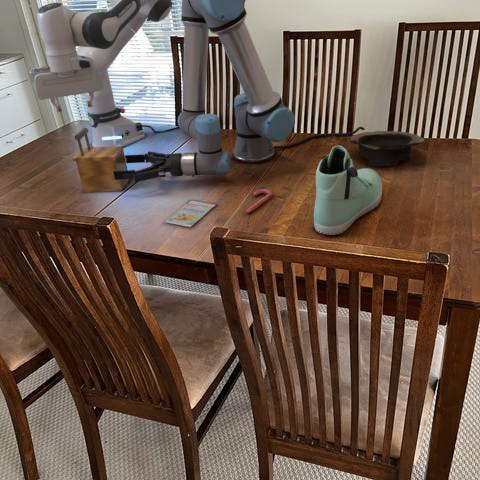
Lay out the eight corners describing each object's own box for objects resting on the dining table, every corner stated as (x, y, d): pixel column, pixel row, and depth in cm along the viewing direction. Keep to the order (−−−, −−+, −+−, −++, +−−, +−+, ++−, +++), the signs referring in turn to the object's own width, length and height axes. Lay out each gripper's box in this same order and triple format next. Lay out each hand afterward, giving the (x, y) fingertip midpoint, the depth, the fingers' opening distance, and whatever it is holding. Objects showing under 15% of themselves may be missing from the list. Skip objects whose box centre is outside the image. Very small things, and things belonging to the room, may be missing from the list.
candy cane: (232, 210, 143) (232, 206, 142) (259, 190, 153) (259, 186, 152) (249, 215, 140) (248, 210, 139) (276, 194, 150) (275, 190, 149)
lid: (72, 161, 156) (66, 136, 152) (83, 151, 164) (77, 126, 160) (115, 160, 155) (109, 134, 150) (123, 149, 163) (118, 125, 158)
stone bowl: (382, 177, 154) (383, 149, 150) (334, 159, 175) (334, 134, 170) (439, 158, 163) (441, 131, 159) (387, 143, 183) (387, 119, 179)
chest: (83, 192, 162) (75, 161, 156) (93, 180, 170) (85, 151, 164) (121, 190, 160) (115, 160, 155) (129, 179, 168) (123, 149, 163)
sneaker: (389, 187, 148) (396, 123, 138) (356, 242, 123) (361, 168, 112) (346, 181, 154) (350, 119, 144) (306, 232, 129) (307, 161, 118)
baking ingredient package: (164, 221, 138) (191, 199, 150) (164, 222, 139) (191, 201, 150) (190, 226, 135) (215, 203, 146) (190, 227, 135) (215, 205, 147)
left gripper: (27, 70, 139) (40, 117, 147) (98, 61, 144) (108, 106, 152) (28, 66, 145) (41, 111, 152) (97, 57, 149) (106, 101, 157)
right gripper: (177, 191, 149) (111, 193, 151) (190, 160, 170) (132, 163, 172) (174, 169, 145) (106, 171, 147) (187, 140, 167) (128, 143, 169)
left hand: (75, 109), depth 152 cm, fingers open, 8 cm apart
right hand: (120, 167), depth 160 cm, fingers open, 13 cm apart
